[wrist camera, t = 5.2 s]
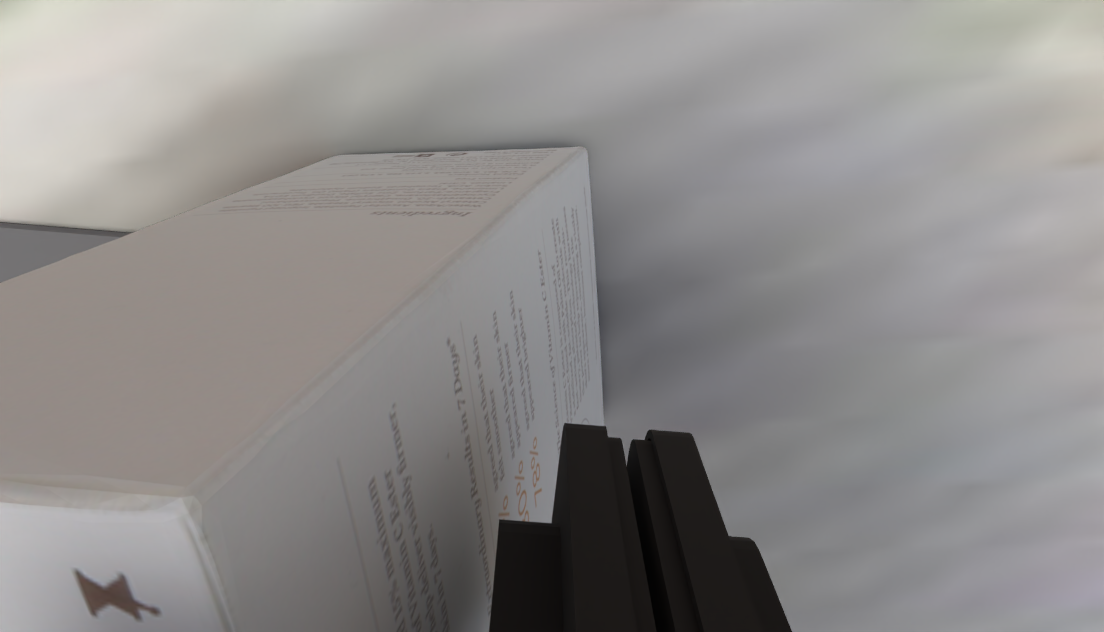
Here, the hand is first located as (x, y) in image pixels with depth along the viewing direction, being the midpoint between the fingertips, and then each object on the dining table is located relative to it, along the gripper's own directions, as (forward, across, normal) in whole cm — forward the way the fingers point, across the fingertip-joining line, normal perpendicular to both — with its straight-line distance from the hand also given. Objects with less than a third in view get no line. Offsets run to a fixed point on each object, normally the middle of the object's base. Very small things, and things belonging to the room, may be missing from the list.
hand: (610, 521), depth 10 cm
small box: (+9, +2, +1) cm, 10 cm away
